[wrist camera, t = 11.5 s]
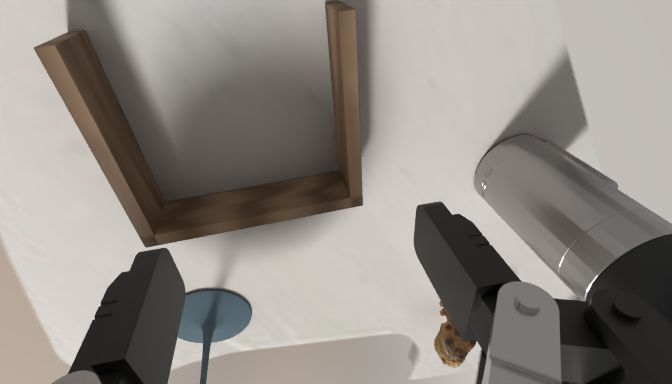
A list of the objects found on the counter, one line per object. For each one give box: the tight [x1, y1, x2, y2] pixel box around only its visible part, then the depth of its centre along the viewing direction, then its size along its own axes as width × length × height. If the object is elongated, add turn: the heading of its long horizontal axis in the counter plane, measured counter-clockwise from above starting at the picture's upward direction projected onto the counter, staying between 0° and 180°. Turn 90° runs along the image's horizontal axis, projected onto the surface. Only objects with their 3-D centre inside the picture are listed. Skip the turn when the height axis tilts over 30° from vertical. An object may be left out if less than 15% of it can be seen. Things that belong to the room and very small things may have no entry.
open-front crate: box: [34, 1, 363, 247], centre depth 29 cm, size 20×17×5 cm
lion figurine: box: [434, 301, 477, 368], centre depth 53 cm, size 15×5×9 cm, turn 97°
